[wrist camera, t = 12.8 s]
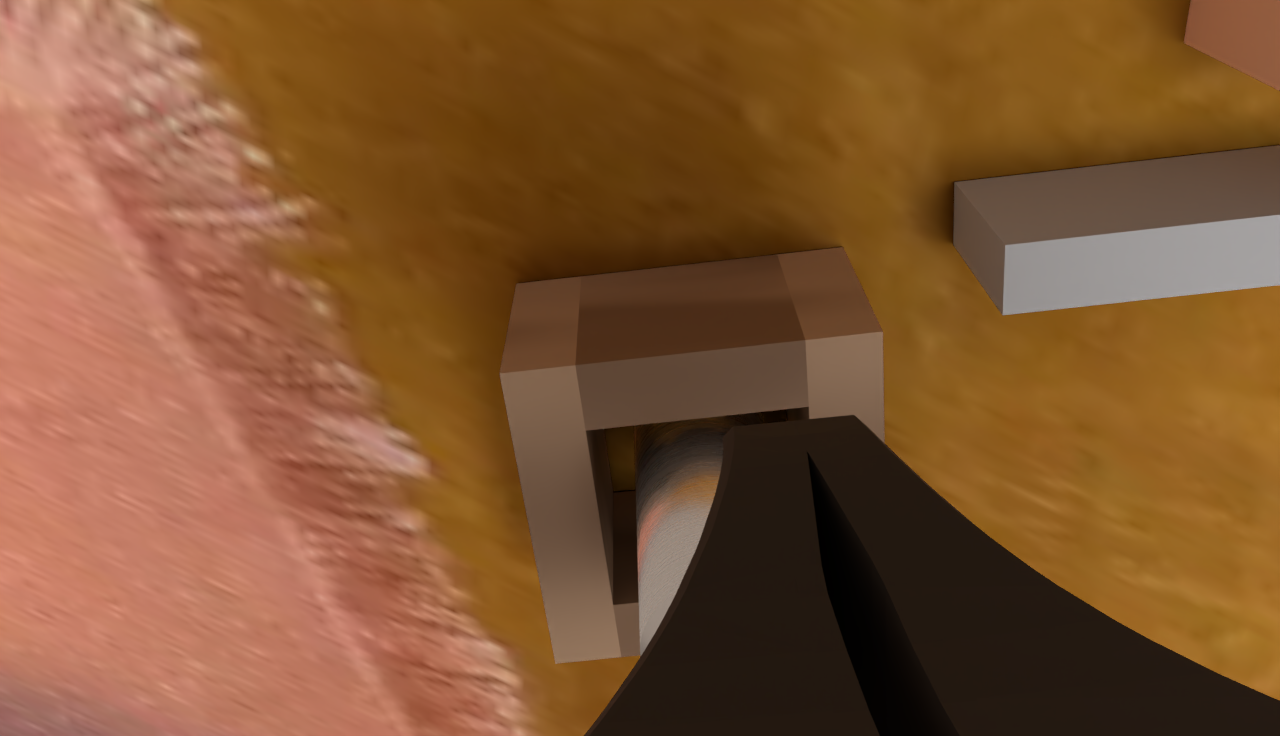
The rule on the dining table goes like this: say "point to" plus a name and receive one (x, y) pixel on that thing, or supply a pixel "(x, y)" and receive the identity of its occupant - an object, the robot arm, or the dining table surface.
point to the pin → (674, 503)
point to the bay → (1123, 230)
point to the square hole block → (663, 400)
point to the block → (1238, 35)
